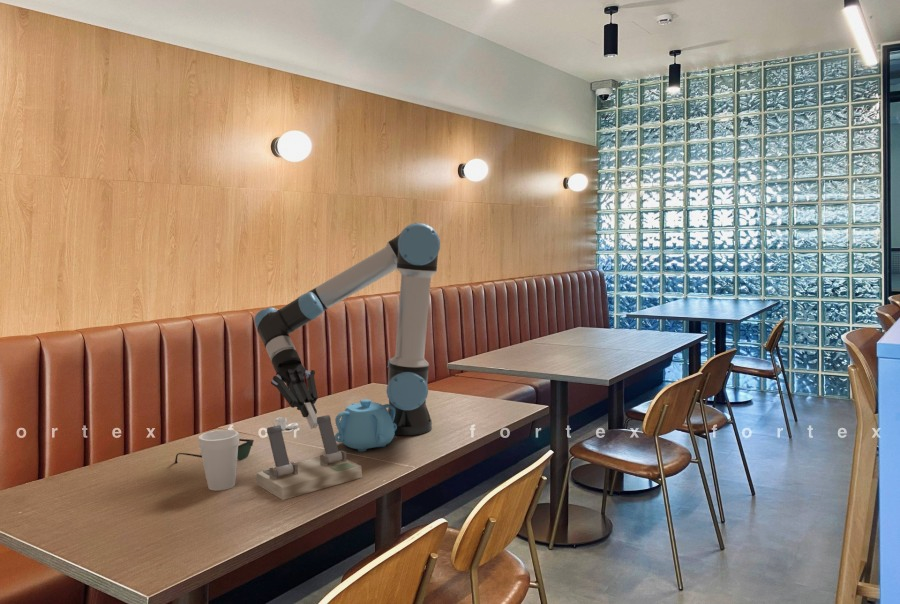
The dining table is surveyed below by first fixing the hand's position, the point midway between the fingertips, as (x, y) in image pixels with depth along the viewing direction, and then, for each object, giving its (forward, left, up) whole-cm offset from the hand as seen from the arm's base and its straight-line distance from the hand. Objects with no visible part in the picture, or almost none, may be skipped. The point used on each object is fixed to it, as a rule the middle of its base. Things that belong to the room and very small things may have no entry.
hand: (315, 425), depth 186 cm
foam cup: (+25, -3, -11) cm, 28 cm away
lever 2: (0, +9, -8) cm, 12 cm away
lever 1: (+14, +9, -8) cm, 18 cm away
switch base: (+7, +9, -11) cm, 16 cm away
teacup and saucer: (-10, -36, -12) cm, 39 cm away
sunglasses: (+19, -25, -12) cm, 33 cm away
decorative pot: (-20, -6, -11) cm, 24 cm away
